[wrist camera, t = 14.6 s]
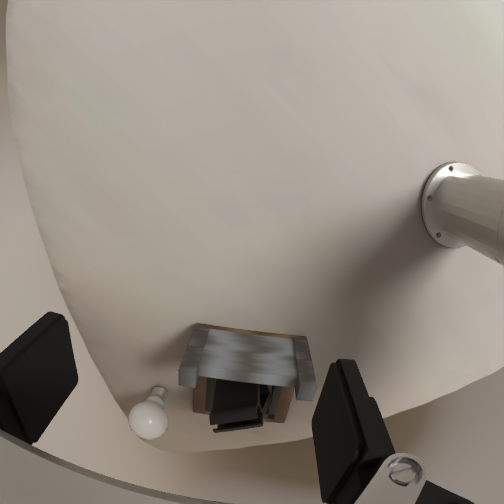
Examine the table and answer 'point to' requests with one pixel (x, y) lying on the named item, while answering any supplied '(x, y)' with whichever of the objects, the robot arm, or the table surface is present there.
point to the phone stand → (239, 405)
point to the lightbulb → (150, 416)
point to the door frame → (248, 366)
